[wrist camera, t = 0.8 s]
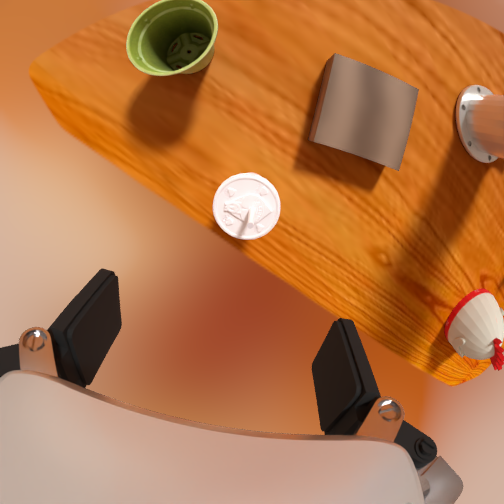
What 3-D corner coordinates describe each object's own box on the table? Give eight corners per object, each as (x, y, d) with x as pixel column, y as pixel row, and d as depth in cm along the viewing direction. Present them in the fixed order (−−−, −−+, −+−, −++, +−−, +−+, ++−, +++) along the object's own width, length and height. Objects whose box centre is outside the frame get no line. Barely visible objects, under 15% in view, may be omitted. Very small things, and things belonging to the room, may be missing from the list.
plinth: (403, 91, 27) (418, 89, 23) (385, 165, 32) (398, 171, 28) (326, 60, 26) (334, 53, 23) (307, 140, 31) (313, 141, 27)
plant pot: (241, 34, 25) (235, 8, 17) (207, 96, 29) (189, 87, 21) (176, 16, 24) (153, -10, 16) (144, 75, 28) (111, 64, 20)
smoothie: (273, 213, 35) (278, 265, 23) (223, 208, 35) (201, 257, 23) (278, 164, 33) (289, 189, 20) (226, 159, 32) (203, 181, 20)
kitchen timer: (444, 349, 47) (471, 398, 33) (442, 310, 42) (479, 364, 28) (489, 320, 43) (520, 361, 30) (491, 277, 38) (533, 320, 25)
